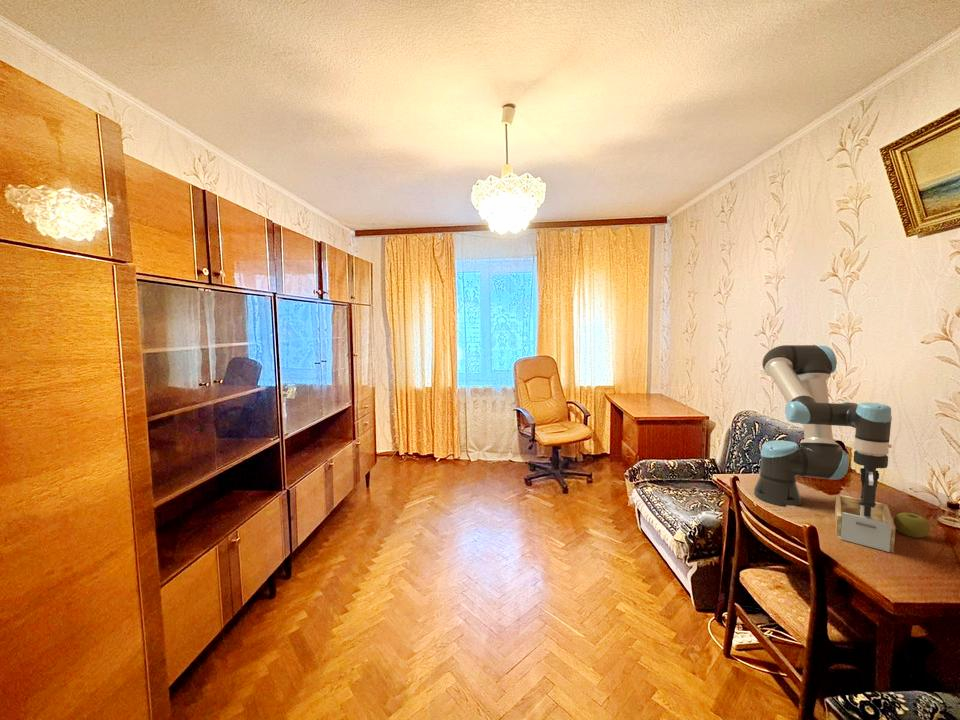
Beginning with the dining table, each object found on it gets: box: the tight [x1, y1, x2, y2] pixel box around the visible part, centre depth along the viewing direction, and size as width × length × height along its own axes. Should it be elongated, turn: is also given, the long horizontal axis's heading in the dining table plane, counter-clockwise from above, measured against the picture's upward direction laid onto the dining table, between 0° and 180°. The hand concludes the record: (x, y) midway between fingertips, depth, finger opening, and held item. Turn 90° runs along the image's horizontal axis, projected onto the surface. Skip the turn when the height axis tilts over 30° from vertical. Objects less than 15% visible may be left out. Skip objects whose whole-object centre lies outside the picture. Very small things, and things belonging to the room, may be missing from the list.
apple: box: [893, 512, 931, 539], centre depth 127 cm, size 8×8×7 cm
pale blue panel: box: [840, 512, 892, 553], centre depth 120 cm, size 11×1×9 cm, turn 48°
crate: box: [834, 493, 896, 553], centre depth 129 cm, size 13×22×8 cm, turn 138°
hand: (865, 524), depth 121 cm, fingers closed
